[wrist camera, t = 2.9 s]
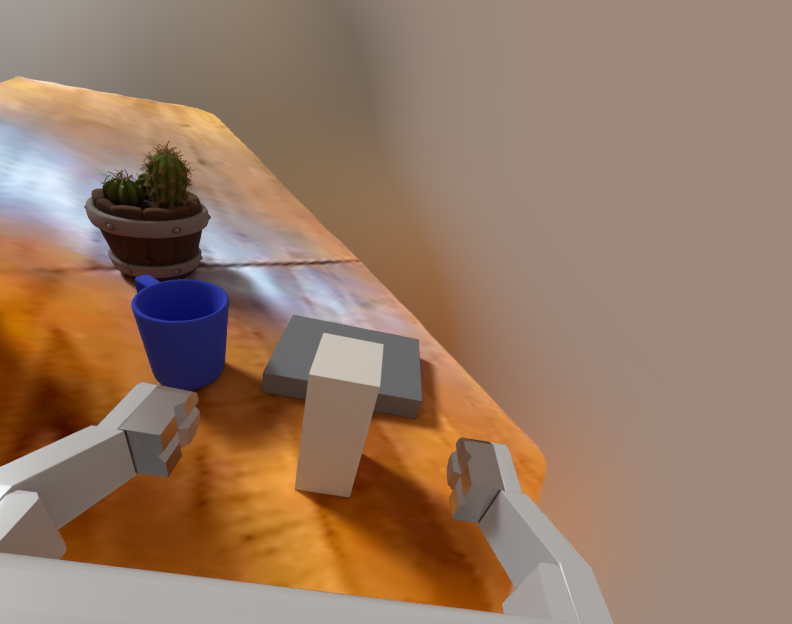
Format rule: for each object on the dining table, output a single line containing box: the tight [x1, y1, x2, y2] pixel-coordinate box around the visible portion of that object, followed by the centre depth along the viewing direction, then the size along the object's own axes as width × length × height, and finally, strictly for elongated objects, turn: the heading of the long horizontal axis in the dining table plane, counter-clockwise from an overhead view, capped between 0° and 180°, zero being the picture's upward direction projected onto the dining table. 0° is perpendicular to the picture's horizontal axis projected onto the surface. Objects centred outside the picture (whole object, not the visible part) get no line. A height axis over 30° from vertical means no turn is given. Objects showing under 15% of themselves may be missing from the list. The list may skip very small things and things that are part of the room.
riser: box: [262, 315, 422, 419], centre depth 44 cm, size 18×12×3 cm, turn 89°
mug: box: [131, 275, 229, 391], centre depth 37 cm, size 8×12×10 cm
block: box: [295, 333, 384, 497], centre depth 30 cm, size 5×5×14 cm
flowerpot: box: [84, 140, 211, 282], centre depth 51 cm, size 14×15×20 cm
